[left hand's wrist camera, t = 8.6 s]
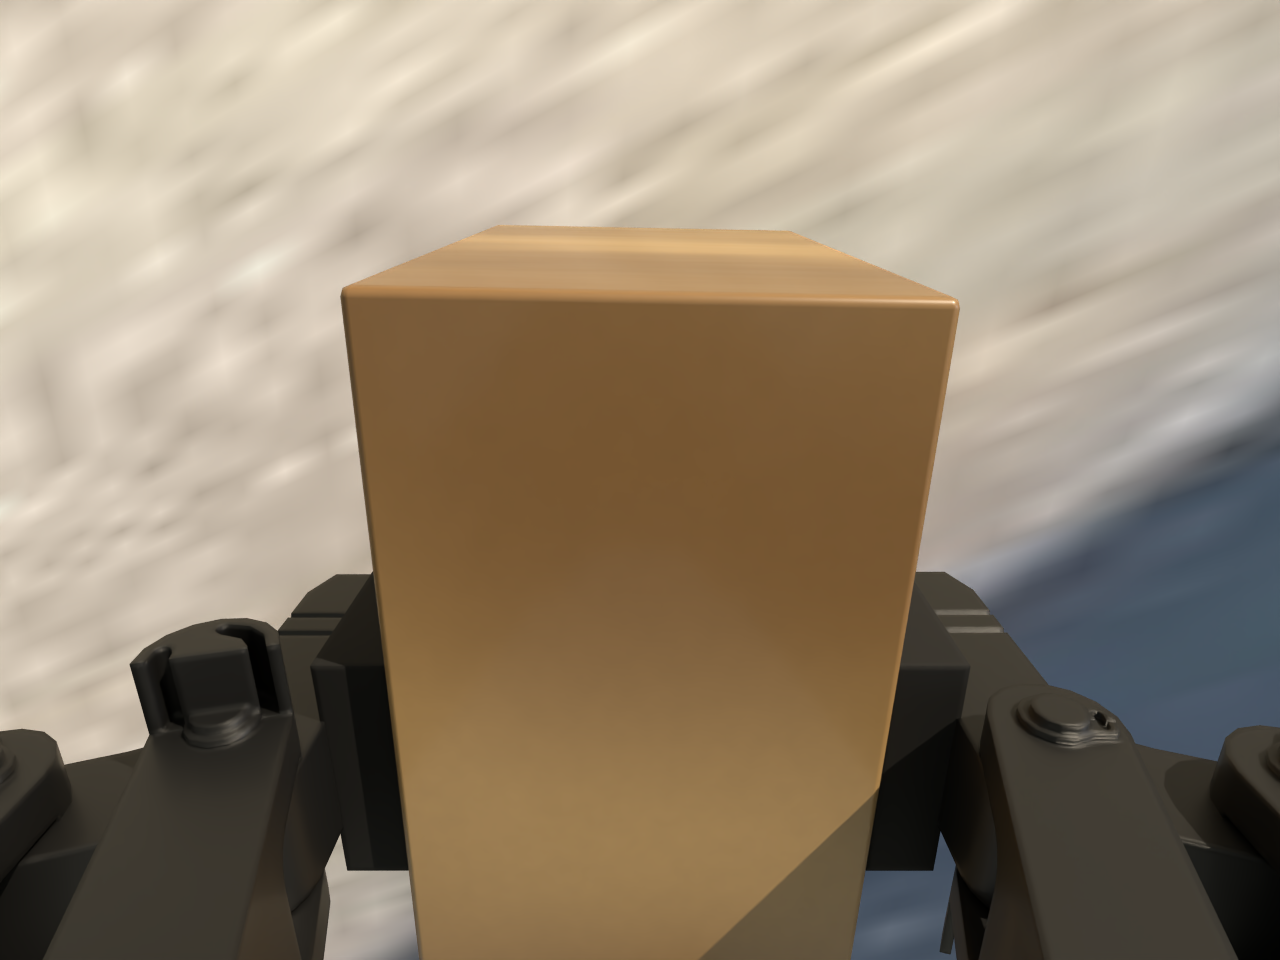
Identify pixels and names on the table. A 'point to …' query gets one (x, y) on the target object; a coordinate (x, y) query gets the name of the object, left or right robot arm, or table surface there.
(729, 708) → the beam
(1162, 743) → the table surface
